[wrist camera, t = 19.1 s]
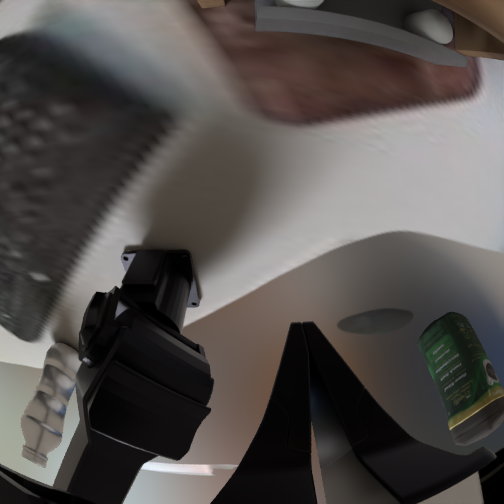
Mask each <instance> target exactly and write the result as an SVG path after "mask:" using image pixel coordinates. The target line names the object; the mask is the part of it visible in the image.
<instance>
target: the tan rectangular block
mask: <svg viewBox="0 0 504 504" xmlns="http://www.w3.org/2000/svg"><path fill="white" fill-rule="evenodd" d="M197 1H198V3H199V4H200V6H201V7H202V8H211V7H223V6H225V0H197ZM432 1H434V2H436V3H438V4H440V5H442V6H444V7H446V8H448V9H450V10H452V11H453V19H454V32H455V50H456V51H458V52H460V53H462V54H464V55H466V56H474V57H483V58H491V59H498V60H504V0H432Z"/></svg>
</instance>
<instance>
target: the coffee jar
mask: <svg viewBox="0 0 504 504" xmlns="http://www.w3.org/2000/svg"><path fill="white" fill-rule="evenodd" d="M418 346H419V348H420V351H421V353H422V355H423V357H424V360H425V362H426V364H427V366H428V368H429V370H430V372H431V375H432V377H433V380H434V382H435V384H436V387H437V389H438V392H439V394H440V397H441V399H442V402H443V405H444V408H445V411H446V414H447V419H448V424H449V429H450V430H451V434H452V436H453V439H454V442H455V444H457V445H464V446H466V445H469V444H471V443H474V442H476V441H478V440H480V439H482V438H484V437H486V436H488V435H489V434H490V433H492V432H493V431H494V430H495V429H496V428H497V427H499V426H500V425H501V424H502V423H503V422H504V390H503V388H502V386H501V384H500V382H499V380H498V378H497V376H496V374H495V371H494V369H493V367H492V365H491V363H490V361H489V359H488V357H487V355H486V353H485V351H484V349H483V347H482V345H481V343H480V341H479V339H478V337H477V335H476V334H475V331H474V330H473V328H472V326H471V324H470V323H469V321H468V320H467V318H466V317H464V316H463V315H461V314H458V313H455V312H449V313H446V314H445V315H444V316H442V317H440V318H439V319H437V320H435V321H433V322H432V323H431V324H430V325H429V326H428V327H427V328H426V329H425V331H424V332H423V334H422V335H421V336H420V338H419V340H418Z"/></svg>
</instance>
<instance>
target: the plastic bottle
mask: <svg viewBox="0 0 504 504" xmlns="http://www.w3.org/2000/svg"><path fill="white" fill-rule="evenodd" d="M78 356H79V353H78V352H77V351H76V350H74V349H73V348H72V347H70V346H68V345H66V344H63V343H55V344H53V345H52V346H51V347H50V349H49V350H48V351H47V354H46V357H45V361H44V366H43V369H42V373H41V376H40V379H39V382H38V385H37V387H36V390H35V391H34V394H33V396H32V398H31V400H30V402H29V404H28V406H27V408H26V409H25V412H24V414H23V415H22V418H21V428H22V431H23V435H24V438H25V441H26V445H23V452H22V456H23V457H25V458H26V459H28V460H30V461H32V462H33V463H35V464H38V465H39V466H41V467H44V468H45V467H46V462H47V460H48V458H47V457H46V456H47V453H49V452H51V451H52V450H54V449H55V448H56V447H58V446H59V444H60V443H61V440H62V433H63V425H64V418H65V414H66V408H67V406H68V402H69V399H70V397H71V395H72V393H73V390H74V388H75V386H76V385H75V376H76V374H77V372H78V369H79V367H80V365H81V363H82V362H81V361H79V358H78Z"/></svg>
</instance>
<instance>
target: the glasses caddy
mask: <svg viewBox="0 0 504 504" xmlns="http://www.w3.org/2000/svg"><path fill="white" fill-rule="evenodd" d="M255 31H275V32H293V33H305V34H314V35H323V36H330V37H336V38H342V39H348V40H353V41H358V42H363V43H368V44H372V45H376V46H380V47H384V48H388V49H391V50H395V51H398V52H402V53H405V54H408V55H411V56H414V57H417V58H420V59H423V60H426V61H428V62H431V63H434V64H436V65H448V66H458V67H467V57H465V56H463V55H461V54H459V53H457V52H455V51H453V50H451V49H449V48H447V47H445V46H444V44H447V43H449V42H450V41H451V40H452V38H453V30H452V26H451V24H450V22H449V20H448V19H447V18H446V16H445V15H444V14H442V8H441V5H440V4H438V3H436V2H434V1H432V0H255Z"/></svg>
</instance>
